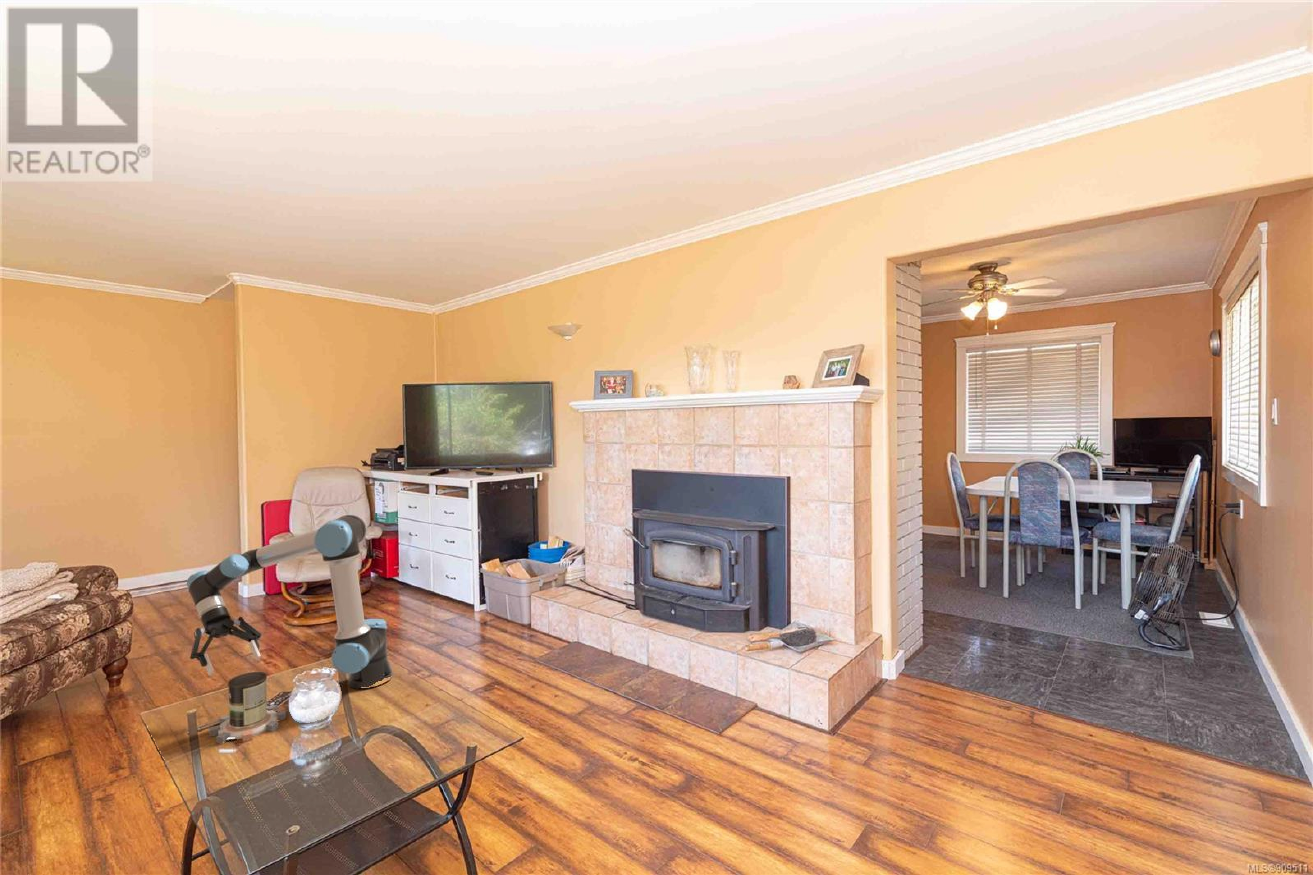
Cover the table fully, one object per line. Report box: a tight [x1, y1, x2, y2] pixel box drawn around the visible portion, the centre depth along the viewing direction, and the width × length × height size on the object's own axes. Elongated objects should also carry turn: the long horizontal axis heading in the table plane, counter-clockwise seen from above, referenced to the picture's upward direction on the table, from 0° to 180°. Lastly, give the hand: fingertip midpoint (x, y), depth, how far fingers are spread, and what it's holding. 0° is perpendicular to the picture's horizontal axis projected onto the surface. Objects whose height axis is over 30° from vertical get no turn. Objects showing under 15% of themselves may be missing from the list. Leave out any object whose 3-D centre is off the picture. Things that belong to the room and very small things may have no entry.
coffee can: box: [227, 671, 268, 729], centre depth 193 cm, size 10×10×14 cm
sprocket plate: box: [208, 704, 287, 744], centre depth 193 cm, size 20×20×2 cm
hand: (235, 665), depth 196 cm, fingers open, 13 cm apart
